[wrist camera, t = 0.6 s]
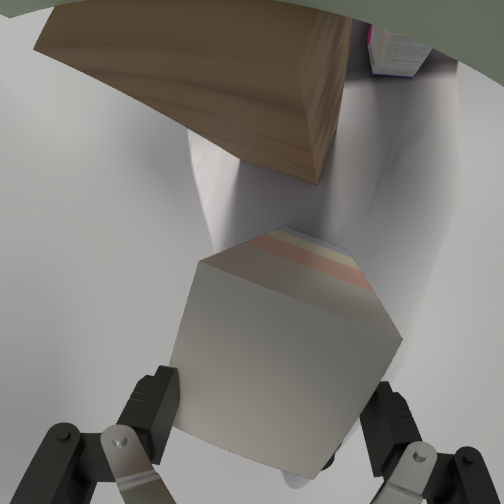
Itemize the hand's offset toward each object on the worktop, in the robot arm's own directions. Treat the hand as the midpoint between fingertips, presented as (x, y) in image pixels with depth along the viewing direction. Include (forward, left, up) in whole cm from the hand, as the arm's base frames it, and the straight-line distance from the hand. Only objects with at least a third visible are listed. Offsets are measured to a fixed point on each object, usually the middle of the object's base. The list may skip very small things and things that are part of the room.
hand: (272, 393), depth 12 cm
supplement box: (-30, +2, -28) cm, 41 cm away
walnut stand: (-14, -7, -27) cm, 32 cm away
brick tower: (0, 0, -27) cm, 27 cm away
